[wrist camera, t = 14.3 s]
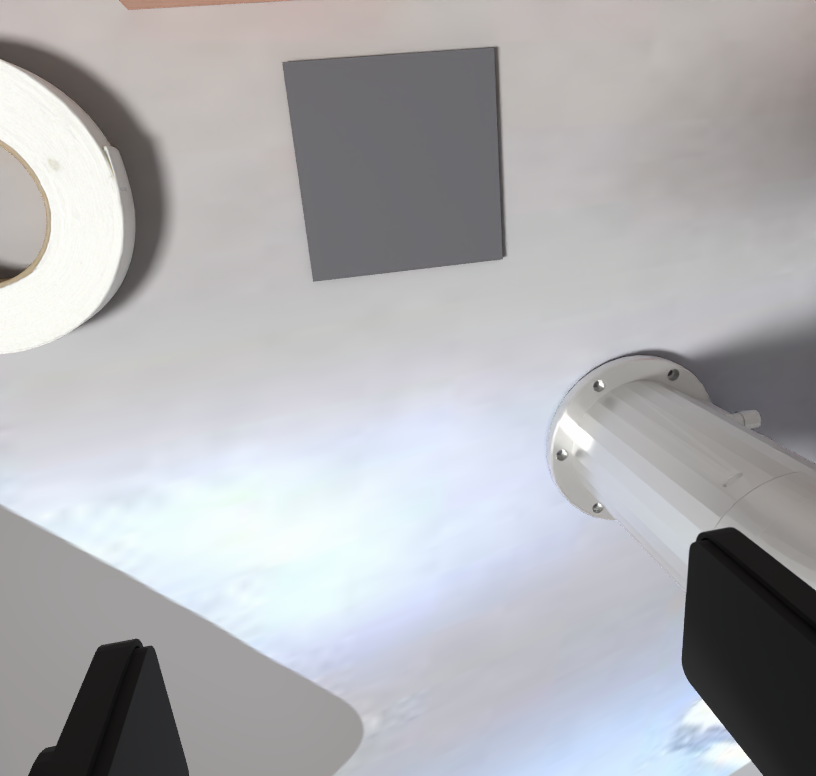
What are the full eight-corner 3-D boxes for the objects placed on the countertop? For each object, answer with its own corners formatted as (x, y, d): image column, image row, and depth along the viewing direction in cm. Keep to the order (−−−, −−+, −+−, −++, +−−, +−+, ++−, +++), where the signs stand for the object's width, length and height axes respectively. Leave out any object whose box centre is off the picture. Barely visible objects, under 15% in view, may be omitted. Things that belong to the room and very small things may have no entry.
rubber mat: (492, 48, 36) (494, 47, 35) (500, 258, 40) (502, 259, 39) (282, 63, 34) (282, 62, 34) (313, 280, 38) (313, 281, 38)
